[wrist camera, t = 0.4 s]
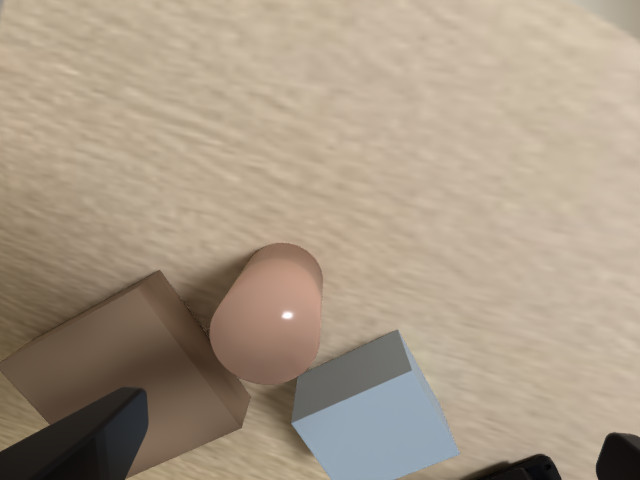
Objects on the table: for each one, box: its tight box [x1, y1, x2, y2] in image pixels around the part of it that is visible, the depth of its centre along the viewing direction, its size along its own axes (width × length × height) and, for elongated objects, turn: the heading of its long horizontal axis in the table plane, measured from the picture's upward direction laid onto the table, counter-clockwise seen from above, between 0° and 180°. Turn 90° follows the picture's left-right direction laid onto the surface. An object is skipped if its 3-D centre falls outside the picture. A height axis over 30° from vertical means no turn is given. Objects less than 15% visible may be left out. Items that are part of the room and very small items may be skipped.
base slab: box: [0, 270, 251, 478], centre depth 21 cm, size 10×10×2 cm
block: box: [291, 330, 460, 480], centre depth 20 cm, size 6×7×4 cm
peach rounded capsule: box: [210, 243, 323, 385], centre depth 17 cm, size 5×5×6 cm
